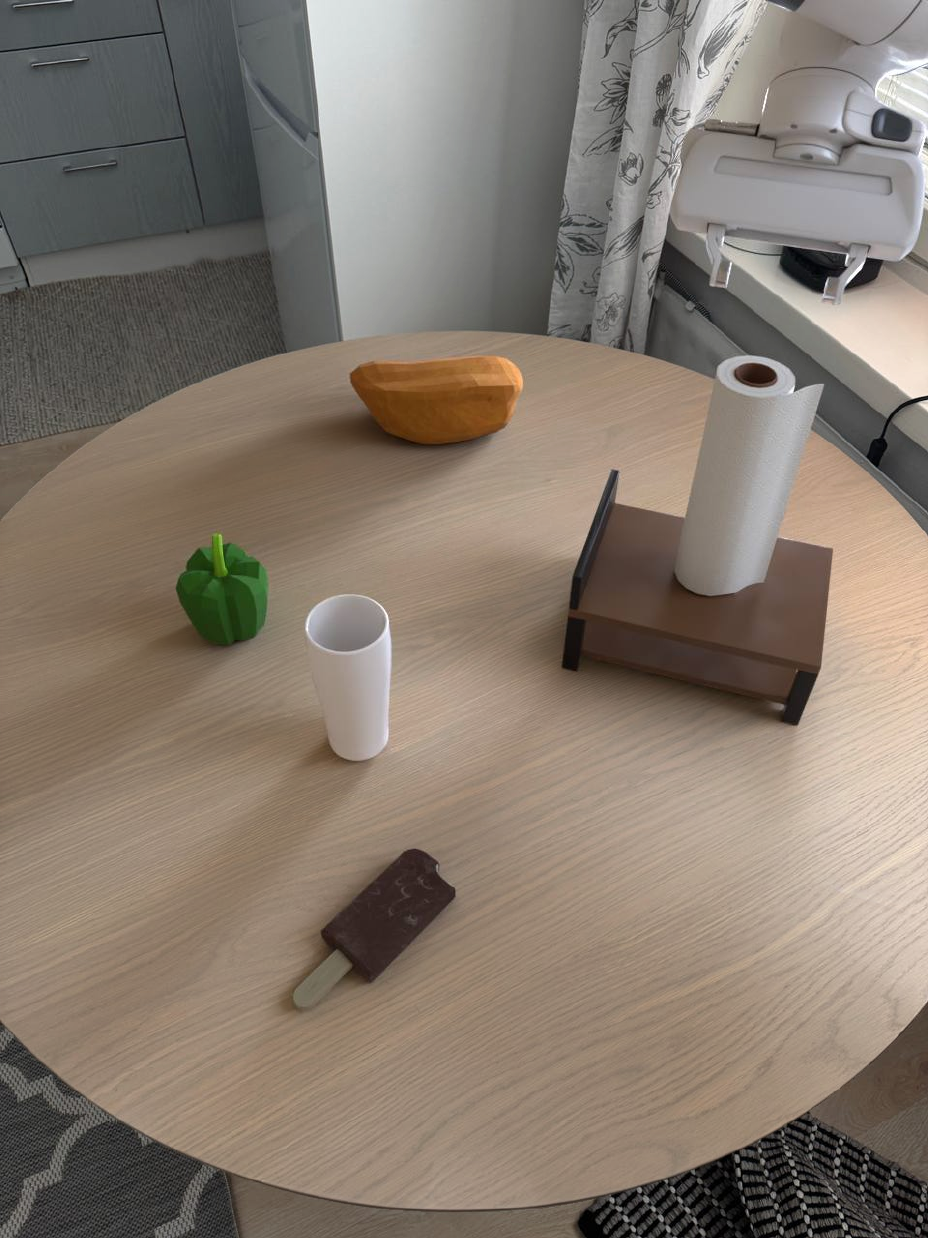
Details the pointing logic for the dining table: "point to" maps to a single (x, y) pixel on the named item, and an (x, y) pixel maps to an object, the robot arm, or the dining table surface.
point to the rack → (696, 611)
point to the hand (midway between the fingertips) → (773, 293)
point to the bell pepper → (224, 592)
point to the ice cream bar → (379, 923)
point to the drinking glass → (351, 672)
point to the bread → (440, 396)
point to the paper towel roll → (743, 474)
